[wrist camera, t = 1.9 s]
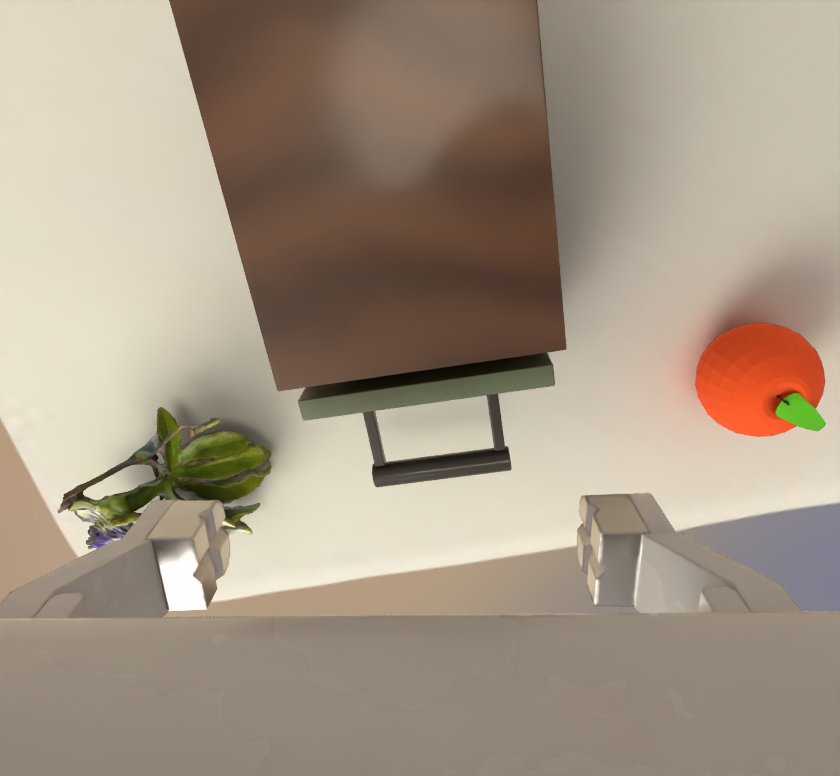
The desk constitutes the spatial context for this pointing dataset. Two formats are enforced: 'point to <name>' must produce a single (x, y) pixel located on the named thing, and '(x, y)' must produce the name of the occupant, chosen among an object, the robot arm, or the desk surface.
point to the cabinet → (382, 178)
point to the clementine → (761, 380)
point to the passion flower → (177, 478)
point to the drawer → (429, 390)
